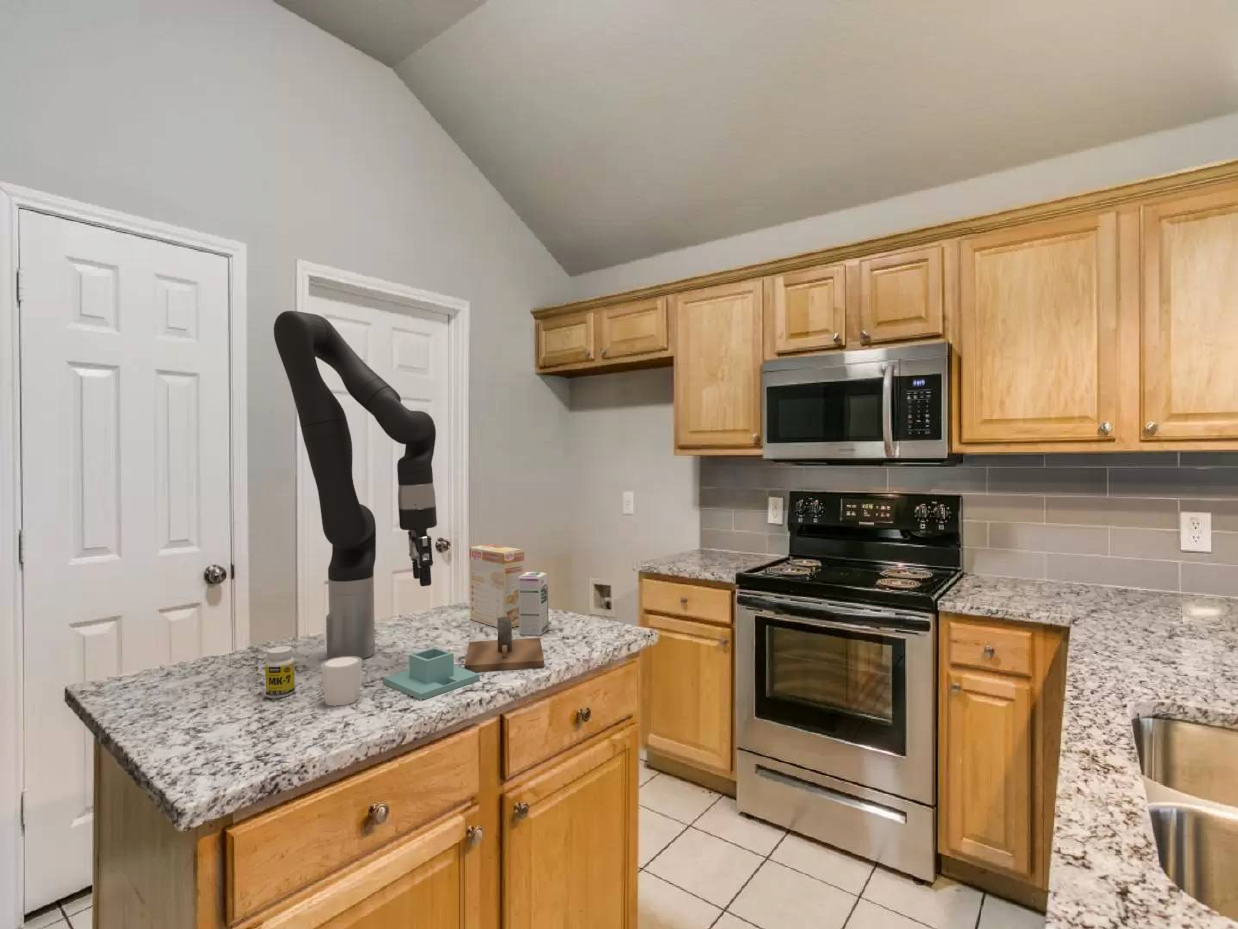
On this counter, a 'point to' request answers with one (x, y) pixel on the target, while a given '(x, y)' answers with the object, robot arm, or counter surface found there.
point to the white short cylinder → (341, 679)
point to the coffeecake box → (495, 583)
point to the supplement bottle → (280, 672)
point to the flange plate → (430, 674)
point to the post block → (504, 651)
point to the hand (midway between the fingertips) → (422, 581)
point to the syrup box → (533, 603)
